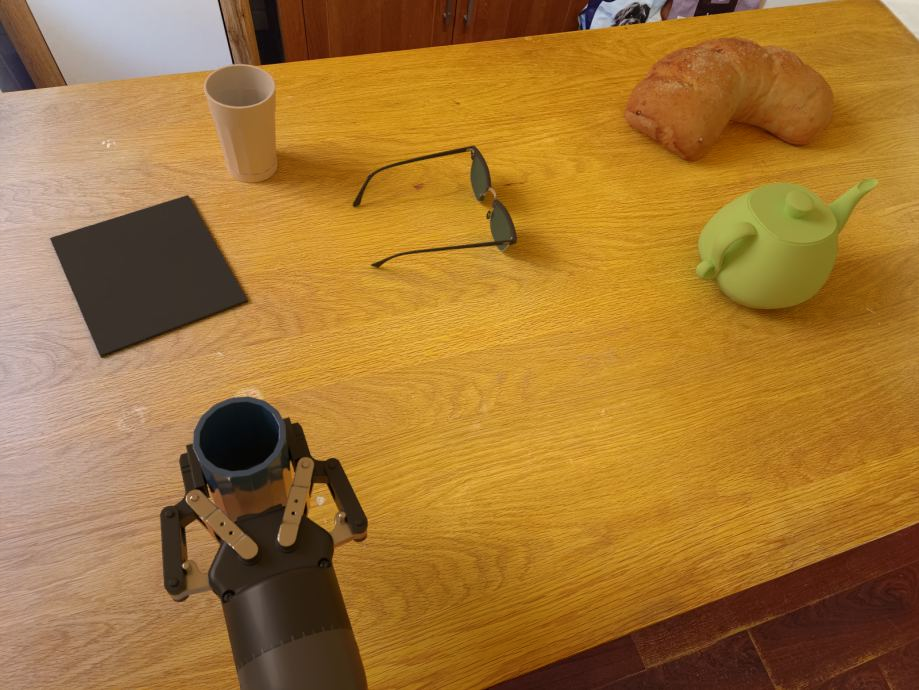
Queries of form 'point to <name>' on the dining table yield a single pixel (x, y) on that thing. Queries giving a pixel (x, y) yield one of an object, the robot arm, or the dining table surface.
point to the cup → (244, 119)
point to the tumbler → (244, 455)
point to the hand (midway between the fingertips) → (239, 436)
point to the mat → (146, 274)
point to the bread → (729, 96)
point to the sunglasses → (481, 185)
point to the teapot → (775, 243)
